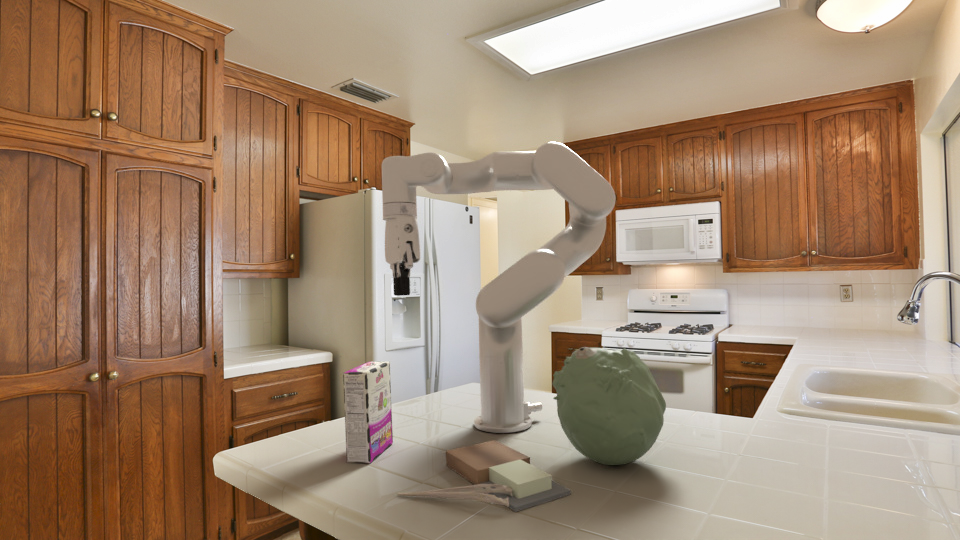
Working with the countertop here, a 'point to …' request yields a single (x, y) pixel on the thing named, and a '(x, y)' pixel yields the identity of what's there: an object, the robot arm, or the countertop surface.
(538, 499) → the mat
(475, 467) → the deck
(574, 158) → the robot arm
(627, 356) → the cabbage
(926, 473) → the countertop surface
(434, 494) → the tweezers
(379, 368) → the candy bar box
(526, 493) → the pale green sponge block
